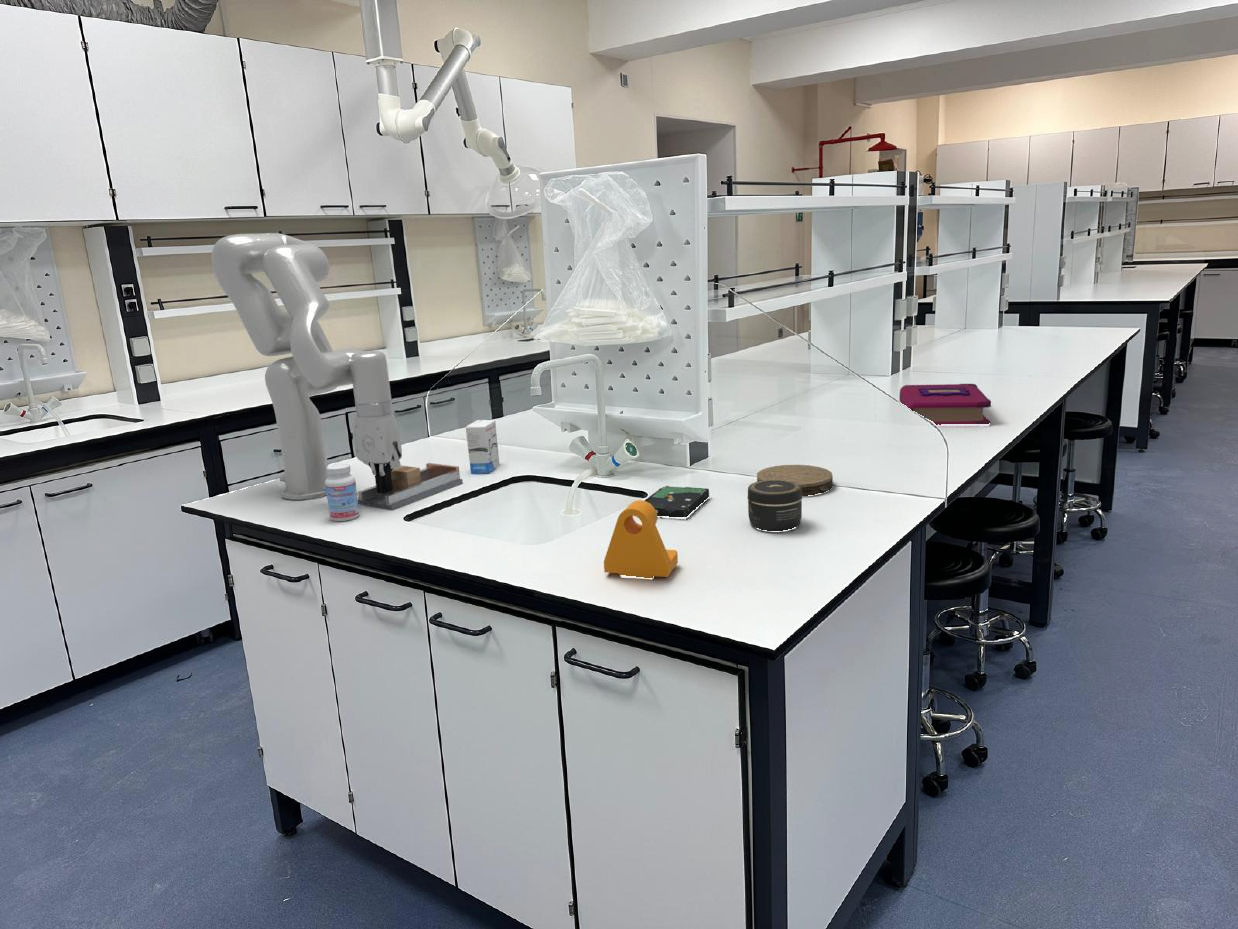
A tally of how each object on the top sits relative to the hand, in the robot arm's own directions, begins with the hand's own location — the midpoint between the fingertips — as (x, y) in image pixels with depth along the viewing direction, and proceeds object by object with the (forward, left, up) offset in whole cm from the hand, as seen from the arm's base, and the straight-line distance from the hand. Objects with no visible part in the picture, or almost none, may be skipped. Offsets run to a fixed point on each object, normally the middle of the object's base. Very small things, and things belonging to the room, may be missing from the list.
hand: (385, 491), depth 190 cm
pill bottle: (0, -11, -3) cm, 12 cm away
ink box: (+2, +31, -3) cm, 31 cm away
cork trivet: (+77, +45, -3) cm, 89 cm away
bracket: (+72, -10, -3) cm, 73 cm away
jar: (+83, +20, -3) cm, 85 cm away
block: (0, +6, -1) cm, 6 cm away
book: (+89, +125, -3) cm, 154 cm away
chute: (0, +8, -3) cm, 8 cm away
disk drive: (+60, +22, -3) cm, 64 cm away
